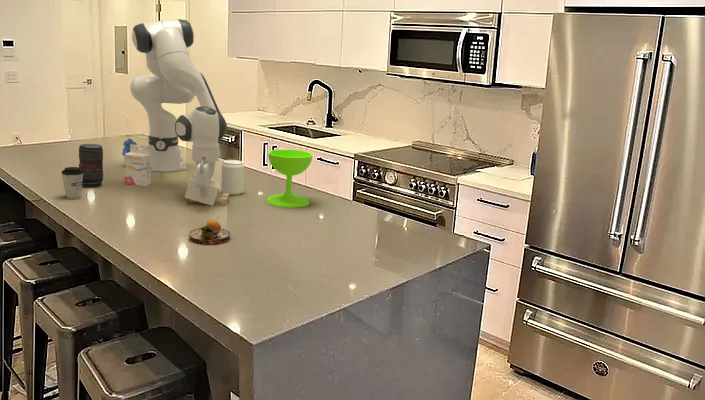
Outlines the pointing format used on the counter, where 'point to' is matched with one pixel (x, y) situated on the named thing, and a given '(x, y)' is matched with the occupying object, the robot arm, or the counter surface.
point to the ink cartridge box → (138, 166)
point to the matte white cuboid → (194, 192)
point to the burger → (210, 234)
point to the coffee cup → (72, 182)
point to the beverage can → (232, 177)
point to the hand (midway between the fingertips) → (204, 194)
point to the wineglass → (289, 175)
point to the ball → (192, 201)
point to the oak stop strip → (224, 199)
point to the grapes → (127, 146)
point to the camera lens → (91, 164)
